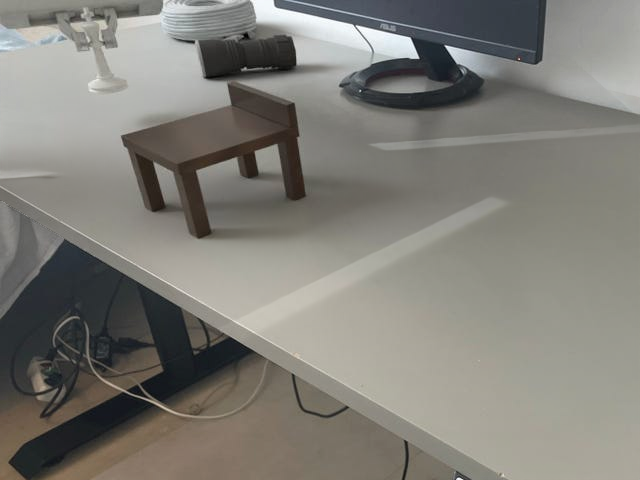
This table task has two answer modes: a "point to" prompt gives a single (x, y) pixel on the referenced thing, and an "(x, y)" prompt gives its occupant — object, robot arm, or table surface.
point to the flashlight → (245, 55)
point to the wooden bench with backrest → (216, 149)
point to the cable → (208, 19)
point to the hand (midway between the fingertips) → (97, 47)
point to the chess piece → (100, 61)
